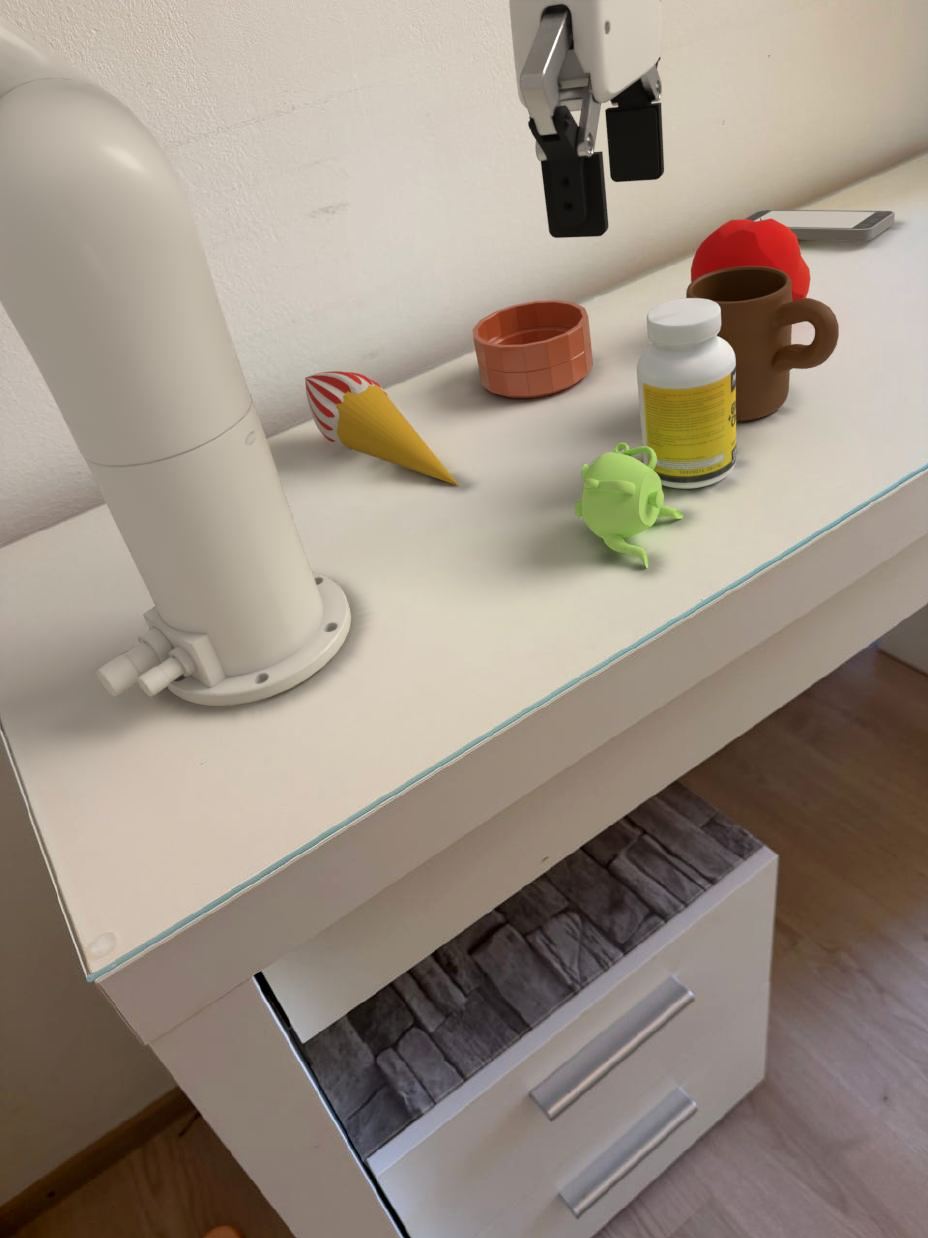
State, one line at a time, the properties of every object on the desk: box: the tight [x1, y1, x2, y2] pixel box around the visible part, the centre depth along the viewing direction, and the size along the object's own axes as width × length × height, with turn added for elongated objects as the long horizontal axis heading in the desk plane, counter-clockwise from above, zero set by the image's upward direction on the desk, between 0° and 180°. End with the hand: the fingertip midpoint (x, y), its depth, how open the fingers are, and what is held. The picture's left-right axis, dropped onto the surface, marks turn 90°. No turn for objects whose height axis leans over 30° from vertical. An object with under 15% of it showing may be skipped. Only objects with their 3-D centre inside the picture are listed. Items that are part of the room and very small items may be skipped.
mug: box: [685, 266, 840, 423], centre depth 69 cm, size 12×8×9 cm, turn 40°
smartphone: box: [744, 209, 896, 242], centre depth 99 cm, size 7×1×15 cm
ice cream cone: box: [304, 370, 460, 487], centre depth 76 cm, size 6×6×20 cm
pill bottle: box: [636, 297, 737, 490], centre depth 64 cm, size 6×6×12 cm
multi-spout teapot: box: [574, 442, 684, 569], centre depth 60 cm, size 6×5×6 cm
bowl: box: [472, 299, 594, 399], centre depth 83 cm, size 10×10×5 cm
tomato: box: [690, 218, 811, 301], centre depth 81 cm, size 9×10×8 cm
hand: (609, 205), depth 53 cm, fingers open, 9 cm apart
